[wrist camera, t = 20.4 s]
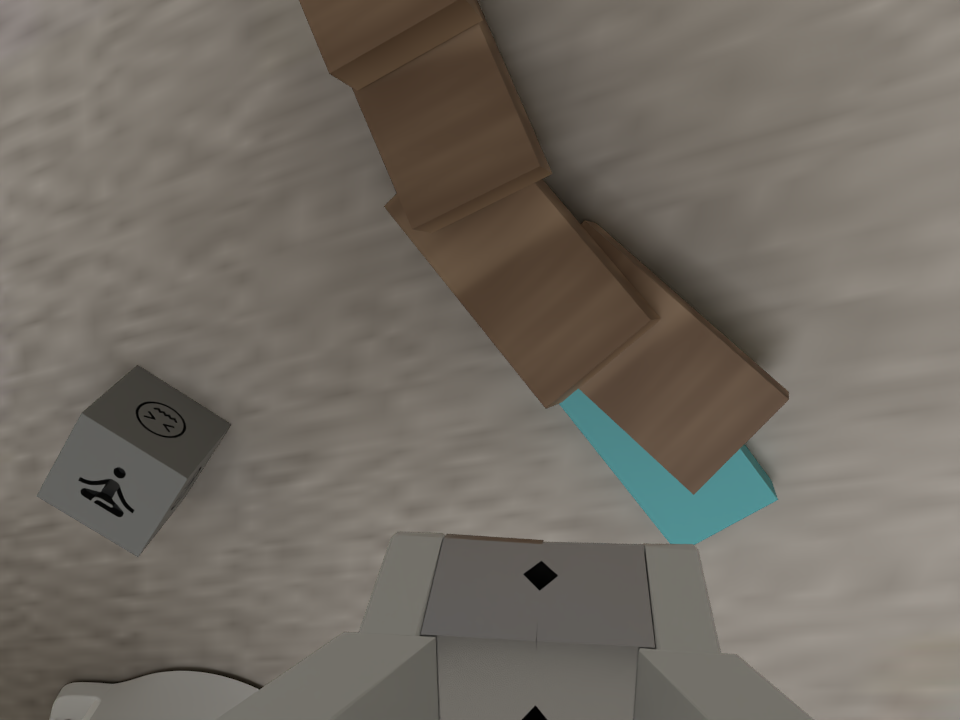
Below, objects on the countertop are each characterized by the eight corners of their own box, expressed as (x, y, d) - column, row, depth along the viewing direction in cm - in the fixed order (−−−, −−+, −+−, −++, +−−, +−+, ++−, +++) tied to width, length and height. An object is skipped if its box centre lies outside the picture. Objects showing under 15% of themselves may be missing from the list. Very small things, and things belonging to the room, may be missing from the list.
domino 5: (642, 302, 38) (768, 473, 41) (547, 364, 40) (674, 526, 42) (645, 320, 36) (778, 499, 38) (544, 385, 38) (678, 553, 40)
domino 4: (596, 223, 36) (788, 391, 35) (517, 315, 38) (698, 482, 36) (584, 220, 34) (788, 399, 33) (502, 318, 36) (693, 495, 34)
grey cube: (95, 441, 43) (36, 496, 39) (138, 364, 41) (81, 413, 37) (185, 496, 44) (138, 557, 39) (231, 424, 42) (187, 478, 37)
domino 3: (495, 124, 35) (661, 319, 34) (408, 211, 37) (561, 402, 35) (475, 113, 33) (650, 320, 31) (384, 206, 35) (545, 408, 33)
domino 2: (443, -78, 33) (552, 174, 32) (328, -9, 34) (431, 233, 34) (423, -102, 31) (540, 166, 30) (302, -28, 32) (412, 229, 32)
